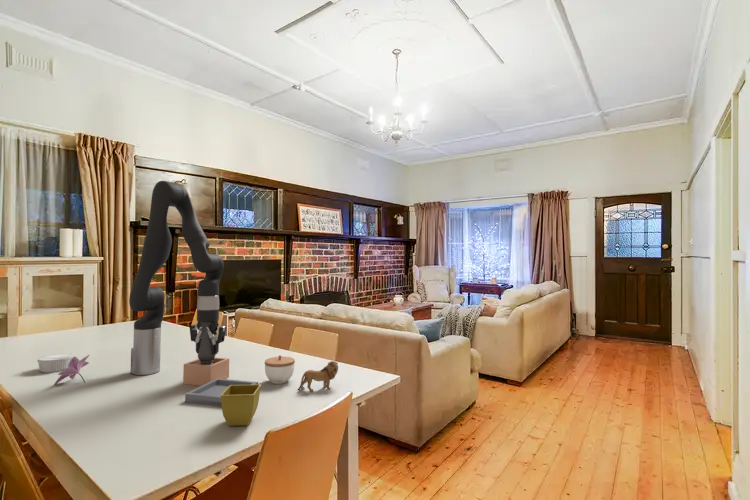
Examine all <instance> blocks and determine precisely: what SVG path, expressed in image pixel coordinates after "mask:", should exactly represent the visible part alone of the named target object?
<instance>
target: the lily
mask: <svg viewBox="0 0 750 500" xmlns="http://www.w3.org/2000/svg"><path fill="white" fill-rule="evenodd" d="M89 357H90V354H88V355H87V356H85V357H83V358H82V359H79V358H78V357H77V356H75V355H74V357H73V358H72V359H71V360H70V362H69V364H68V368H67V369H65V370H63V371H59V373H57V375H59V377H58V378H57V379H56V380H55V382H54V386H55V385H57V384H58V383H60V382H62V381H63V380H64V379H66V378H68V377H69V379H71V380H74V378H75V377H76V375H79V377H80V378H81V379H82V381H83V383H86V381H85V379H84V378H83V376H82V374H81V373H80V372H81V369H82V368H83V367H85V366H87V365H89V364H90V362H89V361H86V360H87V359H88V358H89Z"/></svg>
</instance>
